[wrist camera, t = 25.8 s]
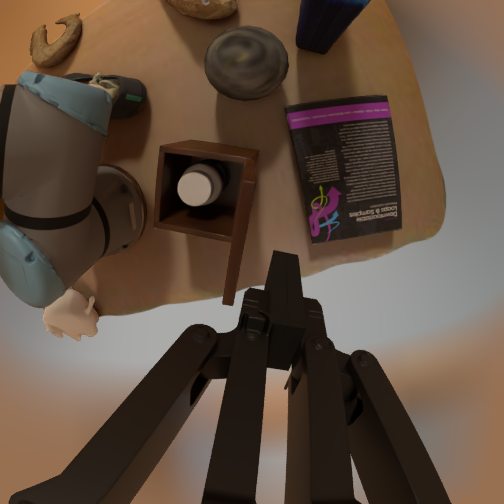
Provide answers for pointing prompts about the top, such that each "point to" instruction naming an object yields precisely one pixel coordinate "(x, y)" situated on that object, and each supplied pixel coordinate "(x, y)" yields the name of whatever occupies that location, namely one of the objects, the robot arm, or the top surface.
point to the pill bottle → (203, 182)
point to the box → (347, 166)
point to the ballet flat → (116, 92)
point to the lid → (240, 231)
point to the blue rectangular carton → (325, 22)
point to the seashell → (205, 8)
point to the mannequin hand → (71, 315)
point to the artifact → (61, 48)
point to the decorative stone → (246, 63)
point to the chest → (204, 216)
